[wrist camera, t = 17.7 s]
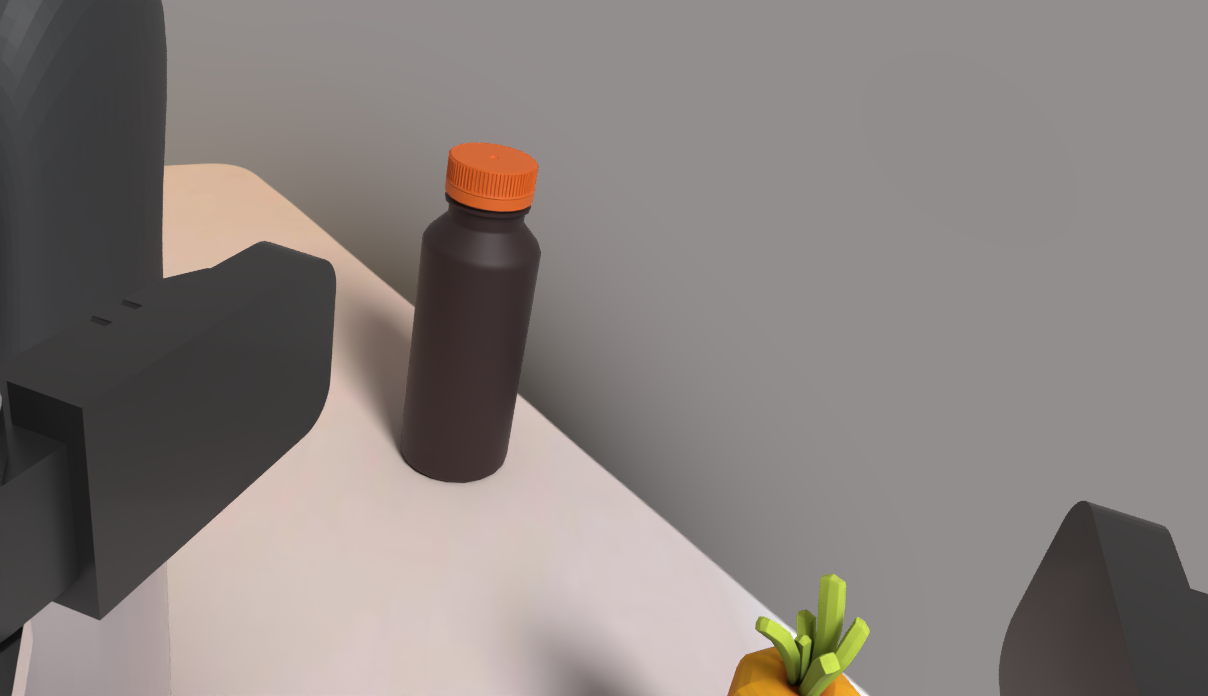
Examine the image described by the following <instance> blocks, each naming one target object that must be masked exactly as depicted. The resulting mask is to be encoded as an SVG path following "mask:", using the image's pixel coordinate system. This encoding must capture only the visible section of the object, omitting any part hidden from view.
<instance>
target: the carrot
mask: <svg viewBox="0 0 1208 696" xmlns="http://www.w3.org/2000/svg"><path fill="white" fill-rule="evenodd" d="M820 579H821V580H820V590H819V602H818V622H817V623H818V624H817V632H816V617H815V616H814V615H813V614H812V613H811V612H810V611H808V610H802V611H799V612H798V614H797V637H796V638H795V640H793V638H792V636H791V634H790V632H788V631H787V630H786V629H785V628H783V627H782V626H781V625H780V624H778V623H776V622H774V621H772V620H771V619H768V618H766V617H760V616H759V618H758V620H757V621H756V627H755V629H756V630H757V631H758V632H760V633H761V634H762V635H764V636H765V637H767V638H768V639H769V640H771V641H772V643H773V644H774V647H771V648H767V649H764V650H760V651H757V652H754V653H750V654H747V655H745V656H744V657H743V658H742V659H741V660H740V662H739V664H738V666H737V668H736V671H735V674H734V677H733V680H732V683H731V686H730V689H729V692H728V696H860V694H859V693H858V692H857V691H856V689H855V688H854V687H853V686H852V685H851V684H850V682H849V681H848V680H847V679H846V678H845V676H844V675H843V674H842V672H843V671H844V670H845V669H846V668H847V667H848V665H849V664H850V663H851V662H852V660H853V659H854V658H855V656H856V655H857V653H858V652H859V650H860V649H861V647H862V645H863V643H864V642H865V640H866V638H867V636H868V634H869V632H870V631H869V628H868V627H867V625H866V623H865V621H863V620H862V619H860V618H859V617H856V619H855V620H854V622H853V623H852V625H851V626H850V628H849V629H848V631H847V632H846V634H845V635H844V637H843V639H842V640H841V642H840V644H839V645H838V642H839V639H840V635H841V632H842V626H843V618H844V610H845V594H846V582H844V581H843V580H841V579H840V578H839V577H837V576H836V575H834V574H829V575H823V576H822V577H821V578H820ZM837 645H838V647H837Z"/></svg>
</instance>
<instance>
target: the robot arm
mask: <svg viewBox="0 0 1208 696" xmlns="http://www.w3.org/2000/svg"><path fill="white" fill-rule="evenodd" d="M166 49H167V48H166V36H165V24H164V12H163V6H162V1H161V0H0V696H171V664H170V638H169V612H168V585H167V560H168V559H169V558H170V557H171V556H172V555H174V554H175V553H176V552H177V551H178V550H179V549H180V548H181V547H182V546H184V545H185V544H186V543H187V542H188V541H189V540H190V539H191V538H192V537H193V536H195V535H196V534H197V533H198V532H199V531H200V530H201V529H202V528H203V527H205V526H206V525H207V524H208V523H209V522H210V521H211V520H212V519H213V518H215V517H216V516H217V515H218V514H219V513H220V512H221V511H222V510H223V509H225V508H226V507H227V506H228V505H229V504H230V503H231V502H232V501H233V500H235V499H236V498H237V497H238V496H239V495H240V494H241V493H242V492H243V491H244V490H246V489H247V488H248V487H249V486H250V485H251V484H252V483H253V482H254V481H256V480H257V479H258V478H259V477H260V476H261V475H262V474H263V473H264V472H266V471H267V470H268V469H269V468H270V467H271V466H272V465H273V464H274V463H276V462H277V461H278V460H279V459H280V458H281V457H282V456H283V455H284V454H286V453H287V452H288V451H289V450H290V449H291V448H292V447H293V446H294V445H295V444H297V443H298V442H299V441H300V440H301V439H302V438H303V437H304V436H305V435H306V434H307V433H308V432H309V431H310V430H311V429H312V427H313V426H314V424H315V423H316V421H317V420H318V418H319V416H320V414H321V412H322V410H323V407H324V405H325V402H326V399H327V395H328V391H329V386H330V376H331V360H332V344H333V328H334V311H335V295H336V276H335V271H334V268H333V266H332V264H331V263H330V262H329V261H327V260H325V259H322V258H319V257H315V256H312V255H309V254H306V253H303V252H300V251H296V250H293V249H290V248H287V247H284V246H281V245H277V244H274V243H271V242H267V241H262V242H259V243H256V244H254V245H252V246H251V247H249V248H247V249H245V250H243V251H241V252H240V253H238V254H236V255H234V256H232V257H231V258H229V259H227V260H225V261H223V262H221V263H220V264H218V265H216V266H214V267H212V268H210V269H209V268H206V269H202V270H197V271H193V272H189V273H185V274H181V275H176V276H172V277H168V278H164V279H163V257H162V218H163V176H164V151H165V125H166V100H167V97H166V96H167V93H166V91H167V86H166V85H167V50H166ZM999 685H1000V696H1208V594H1206V593H1203V592H1199V591H1196V590H1193V589H1190V586H1189V583H1188V581H1187V578H1186V575H1185V572H1184V570H1183V567H1182V565H1181V562H1180V559H1179V556H1178V553H1177V551H1176V548H1175V545H1174V543H1173V540H1172V537H1171V535H1170V533H1169V531H1168V529H1167V528H1166V527H1164V526H1162V525H1160V524H1156V523H1154V522H1150V521H1147V520H1144V519H1140V518H1137V517H1135V516H1131V515H1128V514H1125V513H1122V512H1119V511H1115V510H1112V509H1109V508H1106V507H1103V506H1099V505H1096V504H1093V503H1090V502H1087V501H1080V502H1078V503H1077V504H1075V505H1074V506H1073V507H1072V508H1071V510H1070V511H1069V512H1068V514H1067V515H1066V517H1065V519H1064V520H1063V522H1062V524H1061V526H1060V528H1059V530H1058V532H1057V533H1056V535H1055V537H1054V539H1053V541H1052V543H1051V545H1050V547H1049V549H1048V550H1047V552H1046V554H1045V556H1044V558H1043V560H1042V562H1041V564H1040V565H1039V568H1038V569H1037V571H1036V573H1035V575H1034V577H1033V579H1032V581H1031V583H1030V584H1029V586H1028V588H1027V590H1026V592H1025V594H1024V596H1023V598H1022V600H1021V602H1020V603H1019V605H1018V607H1017V609H1016V611H1015V613H1014V615H1013V617H1012V619H1011V621H1010V624H1009V626H1008V629H1007V632H1006V636H1005V639H1004V642H1003V647H1002V651H1001V657H1000V665H999Z"/></svg>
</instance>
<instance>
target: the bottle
mask: <svg viewBox="0 0 1208 696" xmlns="http://www.w3.org/2000/svg"><path fill="white" fill-rule="evenodd" d="M537 172H538V164H537V163H536V161H535V160H534V159H533V158H532V157H531V156H530V155H528V154H526V153H524V152H522V151H520V150H516V149H514V148H511V147H507V146H502V145H498V144H490V143H465V144H460V145H457V146H455V147H454V148H452V149H451V150H450V151H449V158H448V166H447V175H446V183H445V189H446V192H445V197H446V201H447V202H448V203H449V209H448V211H447V212H445V213H444V214H443V215H441V216H440V217H439V218H437V219H436V220H434V221H433V222H432V223H431V224H430V225H429V226H428V228H427V229H426V230H425V232H424V233H423V237H422V246H421V256H420V265H419V266H420V267H419V275H418V285H417V294H416V304H415V313H414V322H413V332H412V341H411V351H410V360H409V370H408V379H407V389H406V398H405V407H404V417H403V426H402V436H401V450H402V454H403V455H404V457H405V459H406V461H407V462H408V463H409V464H410V465H411V466H412V467H414V468H415V469H416V470H417V471H419V472H420V473H423V474H425V475H427V476H429V477H431V478H434V479H438V480H443V481H447V482H469V481H475V480H480V479H483V478H485V477H487V476H489V475H491V474H494V473H495V472H496V471H497V470H498V469H499V468H500V467H501V466H502V465H503V463H504V460H505V457H506V455H507V450H508V444H509V438H510V432H511V426H512V420H513V415H514V409H515V403H516V397H517V391H518V385H519V379H520V374H521V367H522V362H523V356H524V350H525V344H526V338H527V332H528V326H529V321H530V315H531V309H532V303H533V297H534V291H535V286H536V280H537V273H538V267H539V261H540V256H541V251H540V248H539V244H538V241H537V239H536V238H535V237H534V235H533V234H532V233H531V231H530V230H529V229H528V227H527V226H526V225H525V223H524V217H525V215H526V214H528V213H529V211H530V208H531V203H532V202H533V197H534V191H535V184H536V177H537Z"/></svg>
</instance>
